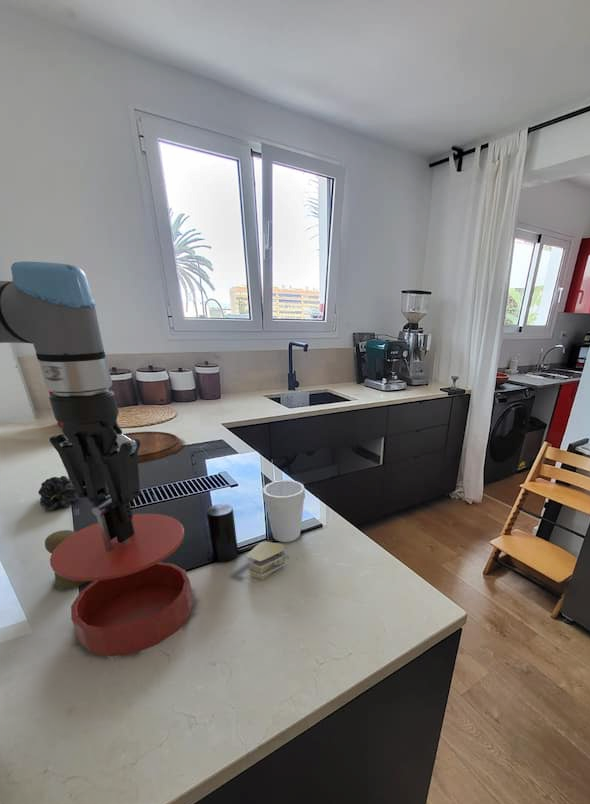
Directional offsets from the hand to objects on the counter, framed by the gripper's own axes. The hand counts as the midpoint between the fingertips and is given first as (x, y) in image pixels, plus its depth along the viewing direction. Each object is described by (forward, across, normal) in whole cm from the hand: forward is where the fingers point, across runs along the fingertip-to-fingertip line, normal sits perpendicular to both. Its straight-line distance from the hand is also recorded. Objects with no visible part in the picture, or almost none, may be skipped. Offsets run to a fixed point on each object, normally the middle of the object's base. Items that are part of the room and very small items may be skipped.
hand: (120, 536), depth 63 cm
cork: (+17, -19, +6) cm, 26 cm away
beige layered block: (+17, +17, +16) cm, 29 cm away
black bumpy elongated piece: (+17, -50, +34) cm, 62 cm away
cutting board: (+16, -60, +76) cm, 98 cm away
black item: (+16, +6, +20) cm, 26 cm away
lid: (+1, 0, 0) cm, 1 cm away
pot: (+16, 0, 0) cm, 16 cm away
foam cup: (+17, +16, +30) cm, 38 cm away
